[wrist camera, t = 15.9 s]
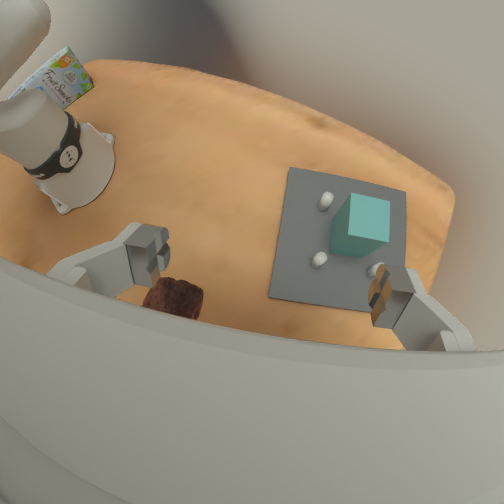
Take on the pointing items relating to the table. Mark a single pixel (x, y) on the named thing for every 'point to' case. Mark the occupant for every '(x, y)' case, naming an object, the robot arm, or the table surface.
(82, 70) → the snack box
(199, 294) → the wooden tablet
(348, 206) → the teal post
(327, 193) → the peg board
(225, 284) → the table surface
